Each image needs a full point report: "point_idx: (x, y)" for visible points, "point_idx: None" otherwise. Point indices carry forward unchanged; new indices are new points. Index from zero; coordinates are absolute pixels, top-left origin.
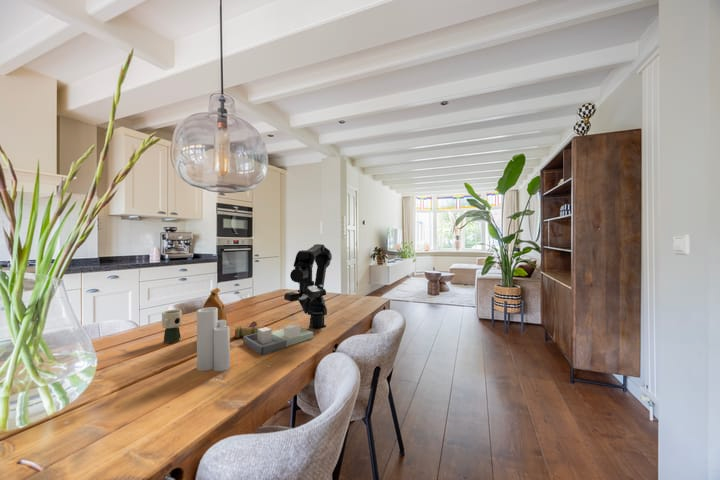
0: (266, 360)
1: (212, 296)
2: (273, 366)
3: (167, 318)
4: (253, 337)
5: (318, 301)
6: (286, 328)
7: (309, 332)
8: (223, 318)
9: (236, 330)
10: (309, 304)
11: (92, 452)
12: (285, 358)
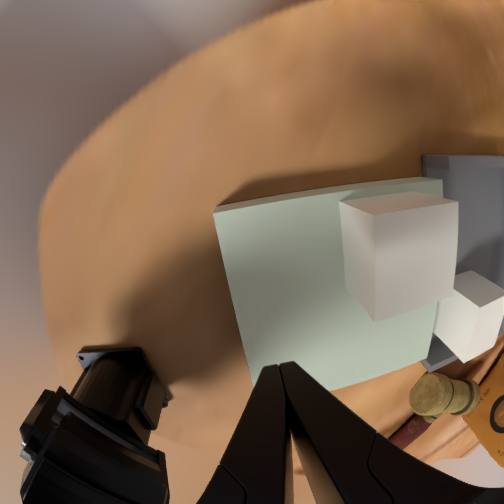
0: (495, 97)
1: None
2: (481, 39)
3: None
4: None
5: (56, 495)
6: (451, 255)
7: (241, 231)
8: None
9: (478, 393)
10: (235, 498)
11: None
12: (448, 51)
